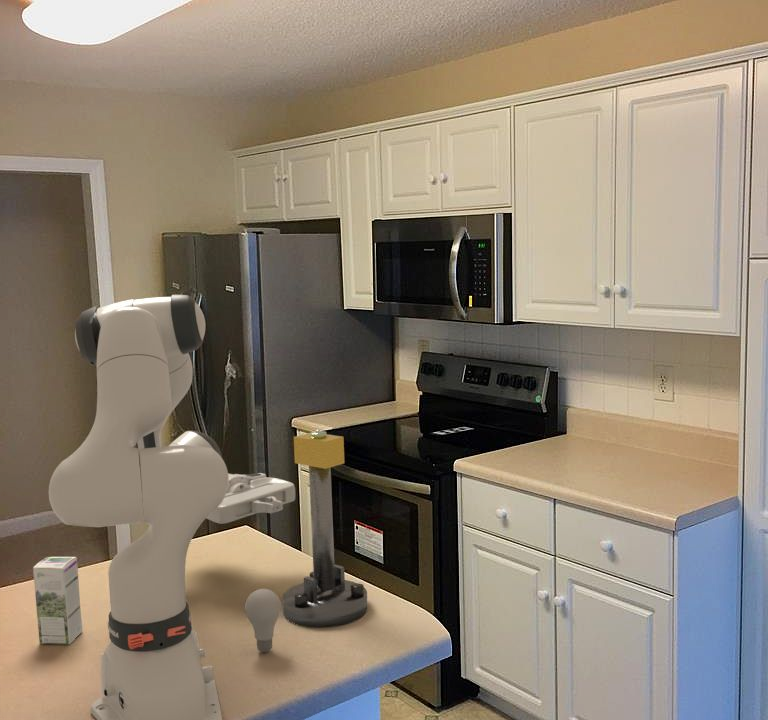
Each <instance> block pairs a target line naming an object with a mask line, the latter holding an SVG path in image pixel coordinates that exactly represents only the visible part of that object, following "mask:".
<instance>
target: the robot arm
mask: <svg viewBox="0 0 768 720" xmlns="http://www.w3.org/2000/svg"><path fill="white" fill-rule="evenodd" d="M74 330H75V331H74V340H75V344H76V346H77V347H76V348H77V350H78V351H79V353H80V355H81V357H82V359H83V360H84V361H85V362H87V363H88V364H90V365H92V366H96V381H97V383H96V384H97V386H96V387H97V389H96V390H97V393H96V394H97V395H96V396H97V398H96V399H97V401H96V412H95V419H94V421H93V425H92V427H91V429H90V432H89V433H88V435H87V436H86V438H85V440H83V442H82V443H81V445H80V446H79V447H78V448H77V449H76V450H75V451H73V453H71V454H70V455H69V456H68V457H67V458H65V459H63V460H62V461H61V462H60V463H59V464H58V465H57V466H56V468H55V470H54V471H53V473H52V475H51V477H50V480H49V484H48V500H49V504H50V506H51V509H52V510H53V511H52V512H53V514H55V516H56V517H57V519H59V520H60V521H61V523H63V524H65V525H67V526H76V527H89V528H102V527H111V526H121V525H131V524H138V523H144V524H148V525H149V526H148V528H147V529H146V531H145V533H143V534H142V536H140V537H139V538H138V539H136V540H135V541H133V542H131V543H129V544H128V545H127V546H125V547H123V548H122V549H121V550H119V551H118V552H117V553H116V554H115V556H114V557H113V558H112V560H111V562H110V564H109V567H108V573H107V574H108V588H109V600H110V602H109V603H110V612H109V613H108V621H107V628H108V633H109V639H110V642H109V644H108V645H107V647H106V648H105V650H104V651H103V652H102V653H101V654H100V680H101V681H100V685H101V687H100V688H101V689H100V690H101V697H99V698H97V699H96V700H95V701H93V702H92V703H91V705H90V714H91V715H92V716H93V717H94V719H96V720H223V715H222V710H221V705H220V699H219V695H218V694H219V693H218V691H217V690H218V689H217V685H216V680H215V673H214V666H213V664H208V665H207V664H206V665H202V662H201V659H202V658H205V657H206V655H207V654H206V648H205V647H202V648H201V647H200V648H199V635H198V632H196V631H194V630H193V627H192V615H191V610H190V608H189V607H190V606H189V603H188V601H187V600H186V599H187V598H186V562H187V561H186V560H187V556H188V555H187V554H188V551H189V547H190V544H191V542H192V539H193V537H194V535H195V533H196V532H197V530H198V529H199V528H200V526H201V525H202V523H203V522H204V521H205V520H206V519H207V520H209V521H211V522H214V523H217V524H228V523H232V522H234V521H237V520H241V519H244V518H246V517H247V518H248V517H249V516H252V515H256V514H260V513H261V514H262V513H268V514H274V513H276V512H280V511H282V510H283V509H284V505H287V504H289V503H292V502H294V501H296V487H295V484H294V483H293V482H291V481H288V480H285V479H281V478H276V477H267V474H266V473H262V472H258V473H251V474H250V473H247V474H239V473H234V474H233V473H229V471H228V467H227V464H226V463H225V460H224V459H223V455H222V452H221V450H220V447H219V445H218V444H217V441H215V440H214V439H213V438H212V437H211V436H209V435H208V434H206V433H204V432H200V431H198V430H186V431H185V432H183V433H182V434H181V435H179V436H178V437H177V438H176V439H174V440H173V441H172V442H171V443H170V444H169V445H167V446H165V445H164V446H162V440H161V433H162V430H163V428H164V425H165V423H166V421H167V420H168V419H169V417H170V415H171V414H172V412H174V410H175V409H176V407H177V406H178V405H179V404H180V402H181V401H182V400H183V399H184V397H185V396H186V395H187V394H188V391H189V390H190V389H191V386H192V383H193V376H194V375H193V373H194V372H193V369H194V368H193V363H192V360H191V359H192V358H191V356H190V353H192V352H194V351H196V350H198V349H199V348H200V347H201V345H202V344H204V341H205V340H204V337H205V333H206V319H205V315H204V313H203V311H202V309H201V307H200V306H199V304H198V302H197V300H196V299H194V298H193V297H191V296H190V295H186V294H172V295H171V296H156V297H155V296H153V297H144V298H139V299H137V298H133V299H126V300H121V301H118V302H114V303H110V304H106V305H104V306H99V305H96V306H93V307H90V308H87V309H86V310H84V311H82V312H81V314H79V316H78V317H77V319H76V321H75V329H74Z"/></svg>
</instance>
